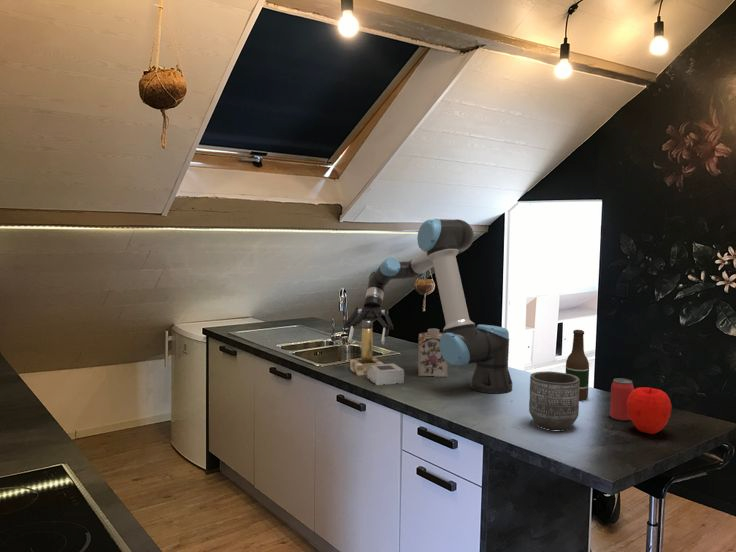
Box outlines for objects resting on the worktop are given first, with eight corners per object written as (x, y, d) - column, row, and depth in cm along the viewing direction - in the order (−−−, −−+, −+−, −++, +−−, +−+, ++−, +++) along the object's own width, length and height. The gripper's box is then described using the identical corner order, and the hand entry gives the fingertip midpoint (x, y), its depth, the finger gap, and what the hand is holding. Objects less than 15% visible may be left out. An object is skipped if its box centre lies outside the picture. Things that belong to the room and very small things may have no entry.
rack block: (383, 373, 240) (384, 363, 239) (357, 375, 236) (357, 365, 236) (375, 367, 250) (375, 357, 250) (350, 369, 247) (350, 359, 246)
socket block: (403, 383, 226) (404, 370, 225) (376, 385, 222) (376, 372, 222) (393, 375, 236) (393, 363, 236) (367, 377, 233) (367, 365, 232)
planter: (519, 425, 179) (521, 376, 178) (543, 415, 189) (545, 368, 188) (563, 437, 169) (565, 386, 168) (586, 426, 179) (588, 377, 178)
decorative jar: (446, 370, 246) (447, 327, 244) (447, 377, 234) (448, 332, 233) (417, 369, 247) (418, 326, 246) (417, 376, 236) (418, 331, 234)
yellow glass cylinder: (373, 372, 242) (374, 321, 240) (363, 373, 240) (363, 321, 238) (370, 369, 246) (370, 319, 244) (359, 370, 245) (360, 319, 243)
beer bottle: (573, 402, 203) (575, 332, 201) (559, 395, 210) (562, 328, 208) (592, 400, 205) (595, 331, 203) (579, 394, 212) (581, 327, 210)
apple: (627, 437, 170) (629, 391, 169) (622, 423, 181) (624, 380, 180) (673, 441, 167) (675, 395, 165) (665, 428, 178) (668, 384, 177)
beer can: (613, 413, 191) (615, 376, 190) (635, 417, 187) (637, 380, 186) (606, 418, 186) (608, 380, 185) (628, 422, 182) (630, 384, 181)
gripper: (403, 306, 255) (397, 348, 241) (346, 304, 260) (337, 345, 246) (401, 296, 249) (395, 338, 236) (343, 294, 254) (334, 335, 241)
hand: (366, 342), depth 241 cm, fingers open, 13 cm apart
